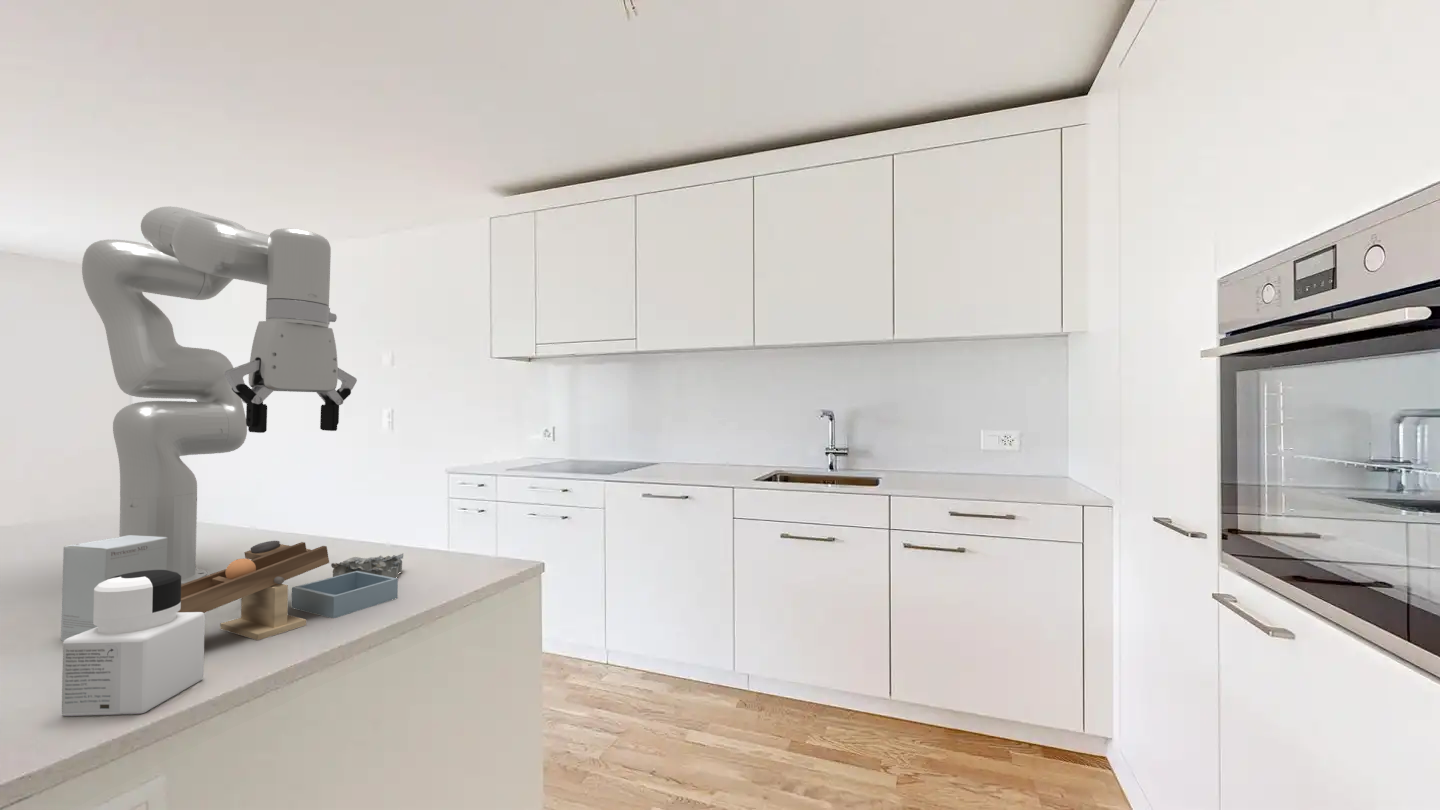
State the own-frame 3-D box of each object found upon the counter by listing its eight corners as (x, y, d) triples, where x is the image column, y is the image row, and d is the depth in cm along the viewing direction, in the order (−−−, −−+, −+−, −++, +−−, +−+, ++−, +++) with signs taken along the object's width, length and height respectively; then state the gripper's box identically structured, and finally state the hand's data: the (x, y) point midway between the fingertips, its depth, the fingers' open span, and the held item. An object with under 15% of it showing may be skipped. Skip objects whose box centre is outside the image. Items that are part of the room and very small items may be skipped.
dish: (291, 610, 89) (291, 587, 89) (356, 591, 98) (357, 570, 98) (333, 620, 85) (333, 596, 85) (397, 600, 94) (397, 578, 94)
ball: (221, 584, 78) (218, 561, 77) (249, 576, 81) (246, 554, 80) (234, 588, 76) (232, 564, 76) (262, 579, 79) (259, 556, 79)
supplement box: (102, 647, 74) (104, 548, 74) (58, 642, 75) (60, 545, 75) (167, 626, 81) (169, 536, 81) (127, 622, 82) (128, 533, 82)
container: (131, 681, 65) (134, 565, 65) (205, 679, 65) (207, 564, 65) (58, 717, 57) (61, 586, 57) (143, 715, 58) (145, 585, 58)
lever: (94, 610, 75) (90, 592, 74) (273, 548, 93) (270, 533, 93) (160, 632, 68) (155, 612, 67) (339, 560, 87) (336, 544, 86)
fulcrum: (220, 629, 80) (221, 584, 80) (269, 615, 85) (269, 573, 85) (257, 640, 76) (258, 593, 76) (306, 625, 82) (306, 581, 82)
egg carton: (326, 587, 100) (326, 563, 100) (343, 575, 107) (343, 553, 107) (395, 583, 103) (395, 560, 103) (406, 571, 110) (406, 550, 110)
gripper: (341, 325, 95) (338, 428, 95) (213, 307, 79) (209, 431, 79) (371, 323, 92) (368, 430, 92) (244, 304, 76) (240, 434, 76)
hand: (294, 431), depth 85 cm, fingers open, 9 cm apart
